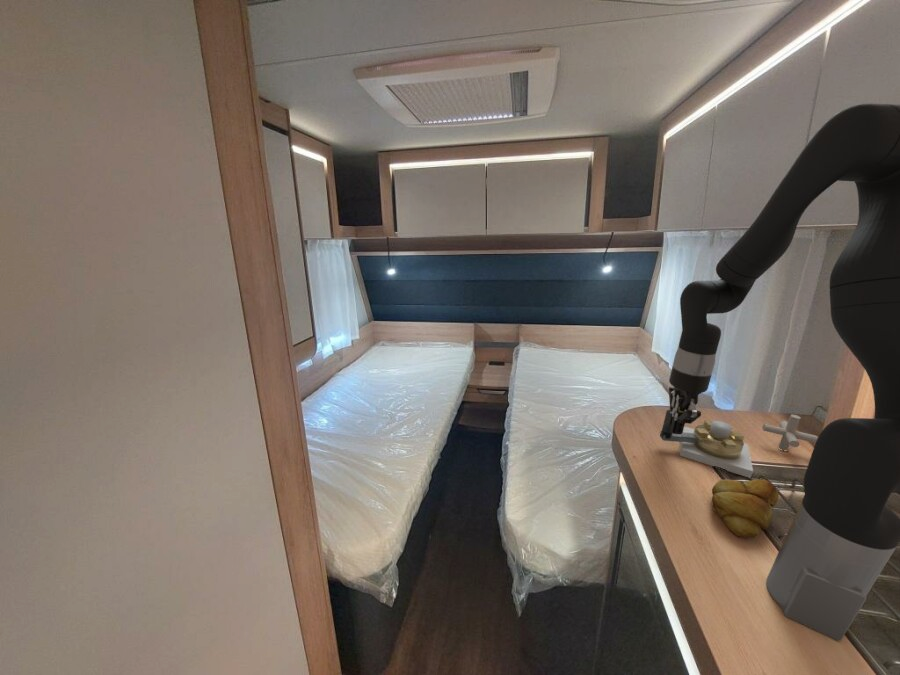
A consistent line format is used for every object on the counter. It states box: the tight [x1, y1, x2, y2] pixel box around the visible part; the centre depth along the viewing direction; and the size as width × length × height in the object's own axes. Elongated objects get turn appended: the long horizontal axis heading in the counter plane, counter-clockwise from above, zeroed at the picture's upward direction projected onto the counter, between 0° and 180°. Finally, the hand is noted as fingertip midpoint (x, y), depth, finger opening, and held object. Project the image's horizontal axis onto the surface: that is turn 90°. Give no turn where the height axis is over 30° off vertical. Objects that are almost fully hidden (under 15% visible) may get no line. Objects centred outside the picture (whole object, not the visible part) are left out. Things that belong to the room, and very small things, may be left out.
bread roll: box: [711, 478, 780, 539], centre depth 69 cm, size 13×10×8 cm
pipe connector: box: [762, 414, 819, 451], centre depth 88 cm, size 10×10×10 cm
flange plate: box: [679, 420, 754, 479], centre depth 87 cm, size 12×14×8 cm
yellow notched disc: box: [659, 409, 745, 459], centre depth 87 cm, size 18×10×9 cm, turn 81°
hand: (675, 432), depth 84 cm, fingers closed
